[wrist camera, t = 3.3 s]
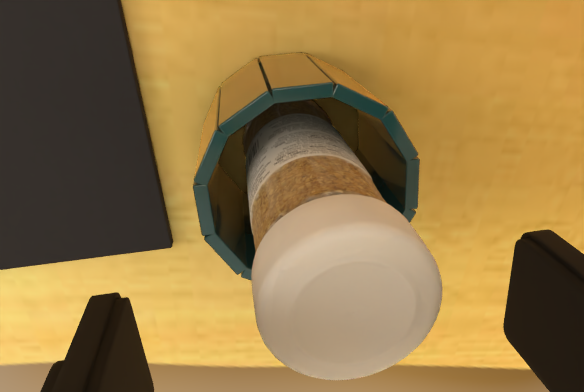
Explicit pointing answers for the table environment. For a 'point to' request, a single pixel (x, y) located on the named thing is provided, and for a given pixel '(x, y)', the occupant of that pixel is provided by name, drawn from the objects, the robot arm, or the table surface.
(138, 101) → the felt mat
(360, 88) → the pen cup
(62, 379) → the robot arm
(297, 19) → the table surface
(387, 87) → the table surface
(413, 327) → the sprinkles bottle
